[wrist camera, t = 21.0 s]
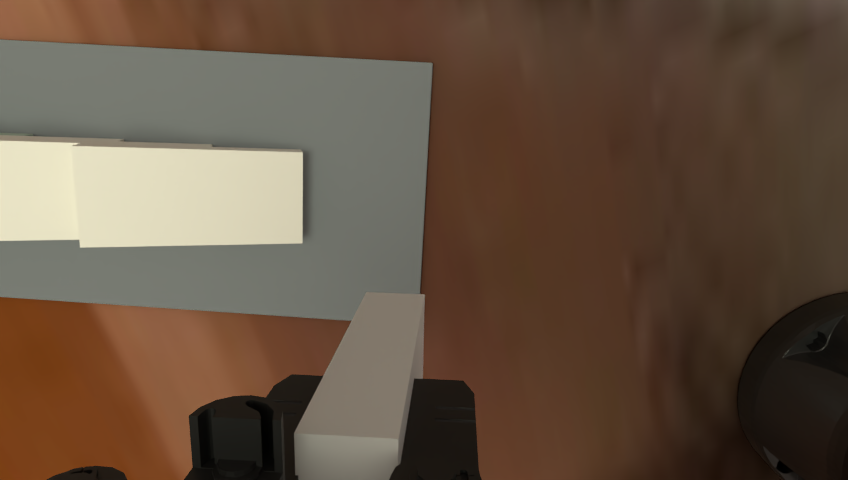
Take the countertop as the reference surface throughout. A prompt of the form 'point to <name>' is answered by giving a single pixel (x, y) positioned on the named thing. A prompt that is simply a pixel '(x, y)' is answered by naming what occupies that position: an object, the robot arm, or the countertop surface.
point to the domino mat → (240, 128)
